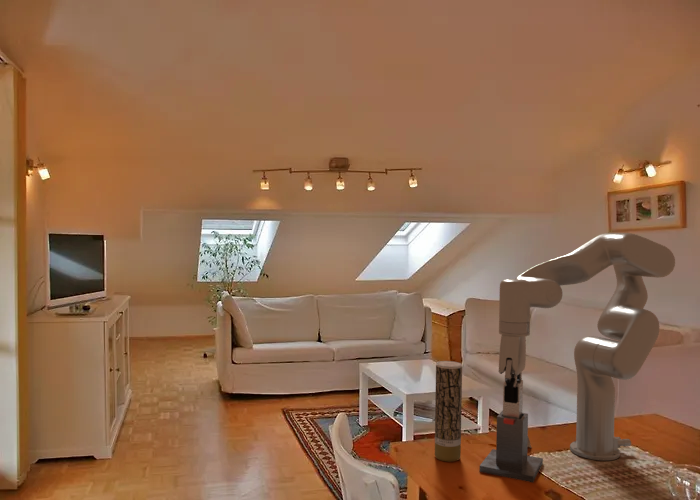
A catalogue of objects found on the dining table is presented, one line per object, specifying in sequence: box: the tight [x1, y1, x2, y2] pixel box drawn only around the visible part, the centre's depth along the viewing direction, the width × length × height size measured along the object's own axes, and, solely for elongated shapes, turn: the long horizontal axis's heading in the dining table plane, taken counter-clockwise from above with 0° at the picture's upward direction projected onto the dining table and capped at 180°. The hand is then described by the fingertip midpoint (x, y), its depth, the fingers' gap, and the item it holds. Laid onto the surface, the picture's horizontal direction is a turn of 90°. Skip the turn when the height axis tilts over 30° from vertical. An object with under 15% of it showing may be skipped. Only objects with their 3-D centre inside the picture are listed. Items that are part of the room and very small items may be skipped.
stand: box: [479, 409, 544, 483], centre depth 148 cm, size 13×13×14 cm
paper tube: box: [434, 360, 463, 463], centre depth 154 cm, size 7×7×25 cm
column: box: [502, 379, 524, 419], centre depth 148 cm, size 4×4×18 cm
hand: (512, 399), depth 148 cm, fingers closed on column, 4 cm apart
